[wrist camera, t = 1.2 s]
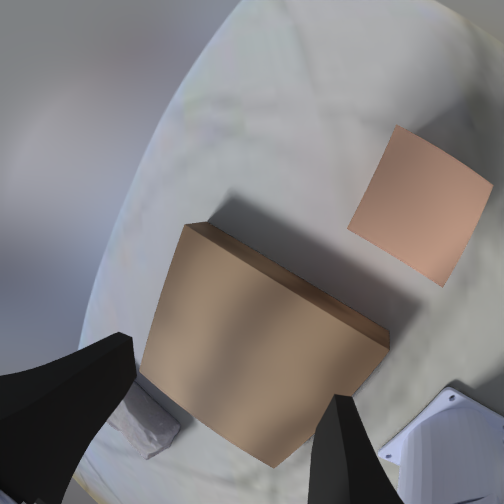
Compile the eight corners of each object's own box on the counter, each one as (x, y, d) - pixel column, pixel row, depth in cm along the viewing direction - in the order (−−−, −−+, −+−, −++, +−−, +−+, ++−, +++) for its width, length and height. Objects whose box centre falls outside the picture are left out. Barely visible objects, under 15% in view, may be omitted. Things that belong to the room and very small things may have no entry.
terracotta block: (455, 190, 13) (493, 185, 8) (421, 259, 15) (442, 287, 9) (390, 151, 15) (396, 124, 9) (356, 220, 16) (346, 228, 11)
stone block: (173, 446, 30) (188, 423, 25) (148, 468, 26) (155, 452, 21) (111, 383, 34) (110, 345, 28) (85, 401, 30) (77, 365, 24)
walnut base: (389, 331, 16) (389, 350, 14) (284, 449, 21) (274, 468, 18) (206, 221, 20) (184, 224, 18) (157, 359, 25) (138, 371, 22)
